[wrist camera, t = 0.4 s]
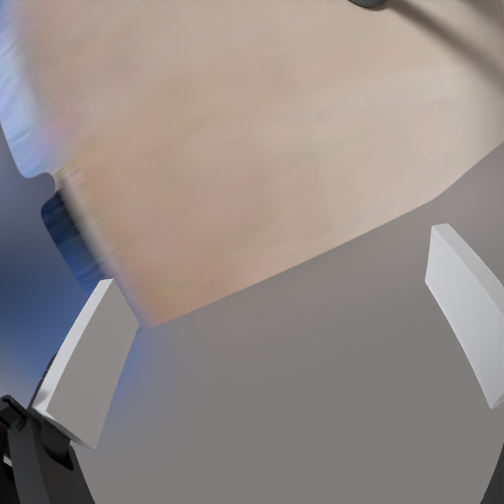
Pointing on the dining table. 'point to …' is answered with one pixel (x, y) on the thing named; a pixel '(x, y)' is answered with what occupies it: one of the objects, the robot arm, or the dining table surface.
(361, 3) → the post
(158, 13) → the dining table surface
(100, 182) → the dining table surface
